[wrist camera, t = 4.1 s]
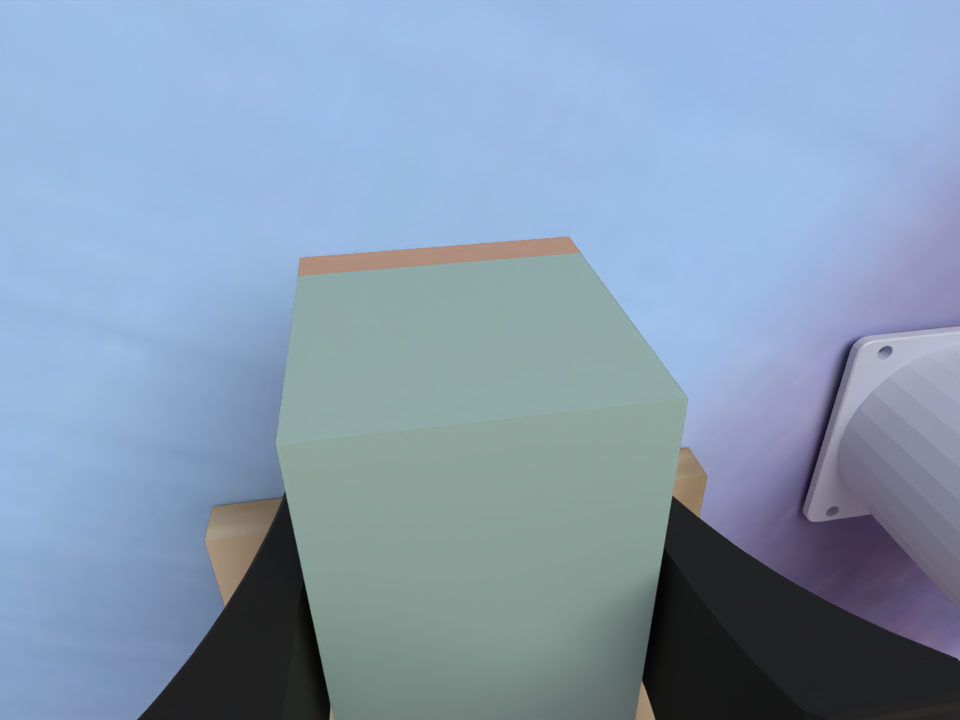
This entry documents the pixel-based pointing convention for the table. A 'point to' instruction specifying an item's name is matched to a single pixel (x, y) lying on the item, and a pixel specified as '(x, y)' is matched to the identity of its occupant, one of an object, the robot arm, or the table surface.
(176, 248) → the table surface
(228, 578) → the birch board
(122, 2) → the table surface
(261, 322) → the table surface
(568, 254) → the block
